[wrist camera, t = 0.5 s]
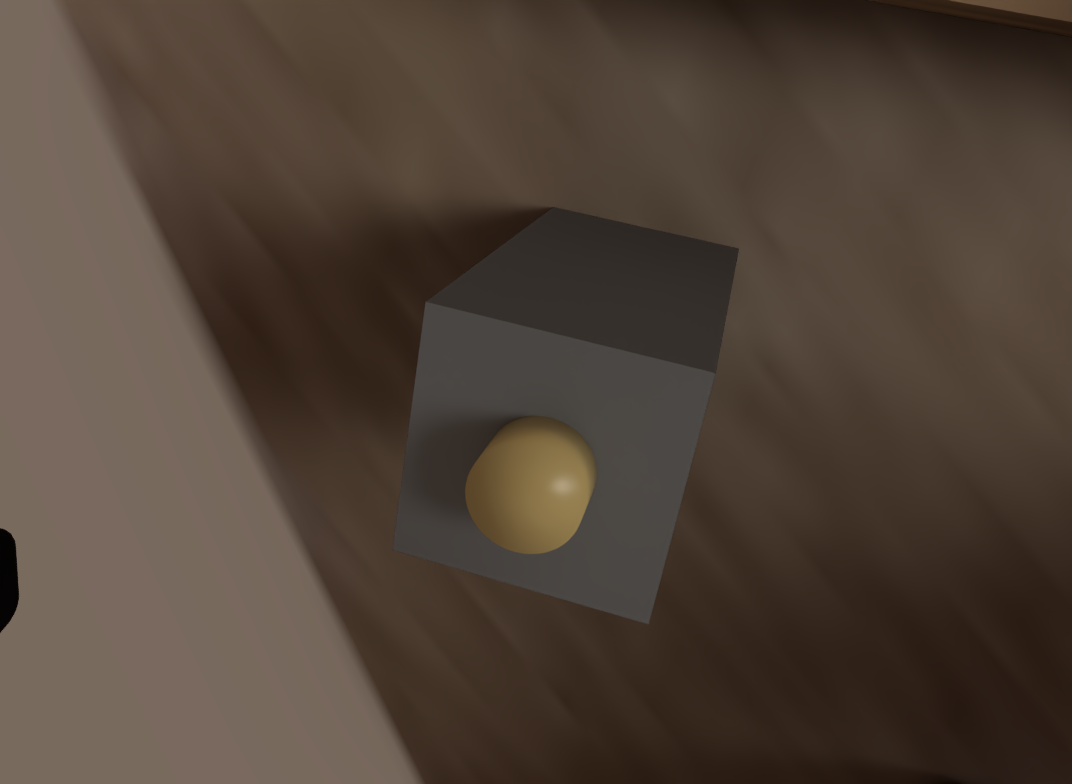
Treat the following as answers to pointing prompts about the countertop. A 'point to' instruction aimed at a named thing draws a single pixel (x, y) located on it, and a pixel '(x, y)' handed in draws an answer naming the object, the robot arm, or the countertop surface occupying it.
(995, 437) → the countertop surface
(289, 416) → the countertop surface
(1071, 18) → the walnut box
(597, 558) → the grey box with knob
